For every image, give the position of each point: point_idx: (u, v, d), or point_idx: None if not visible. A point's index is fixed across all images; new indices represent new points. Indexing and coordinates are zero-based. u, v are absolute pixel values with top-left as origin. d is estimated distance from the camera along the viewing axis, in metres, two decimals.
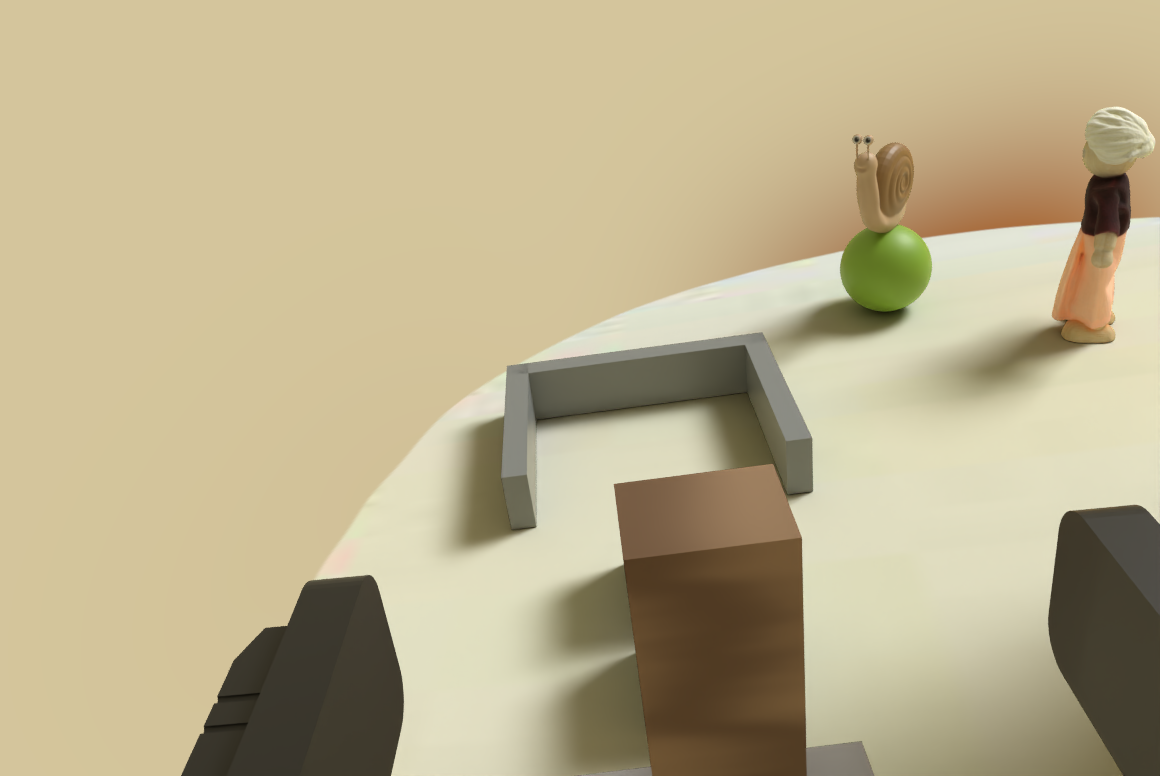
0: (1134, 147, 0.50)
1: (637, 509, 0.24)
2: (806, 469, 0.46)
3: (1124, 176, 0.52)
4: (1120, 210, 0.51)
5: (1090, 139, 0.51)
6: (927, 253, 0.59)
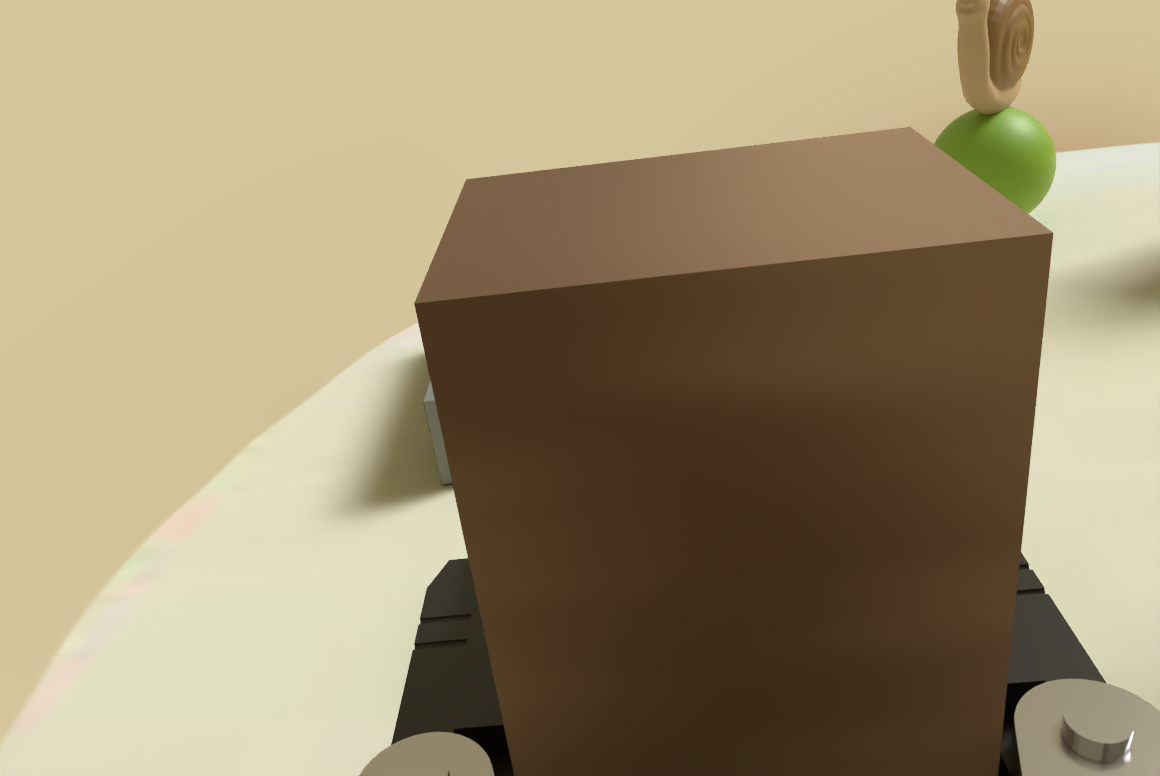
0: None
1: (509, 211, 0.08)
2: None
3: None
4: None
5: None
6: (1051, 143, 0.43)
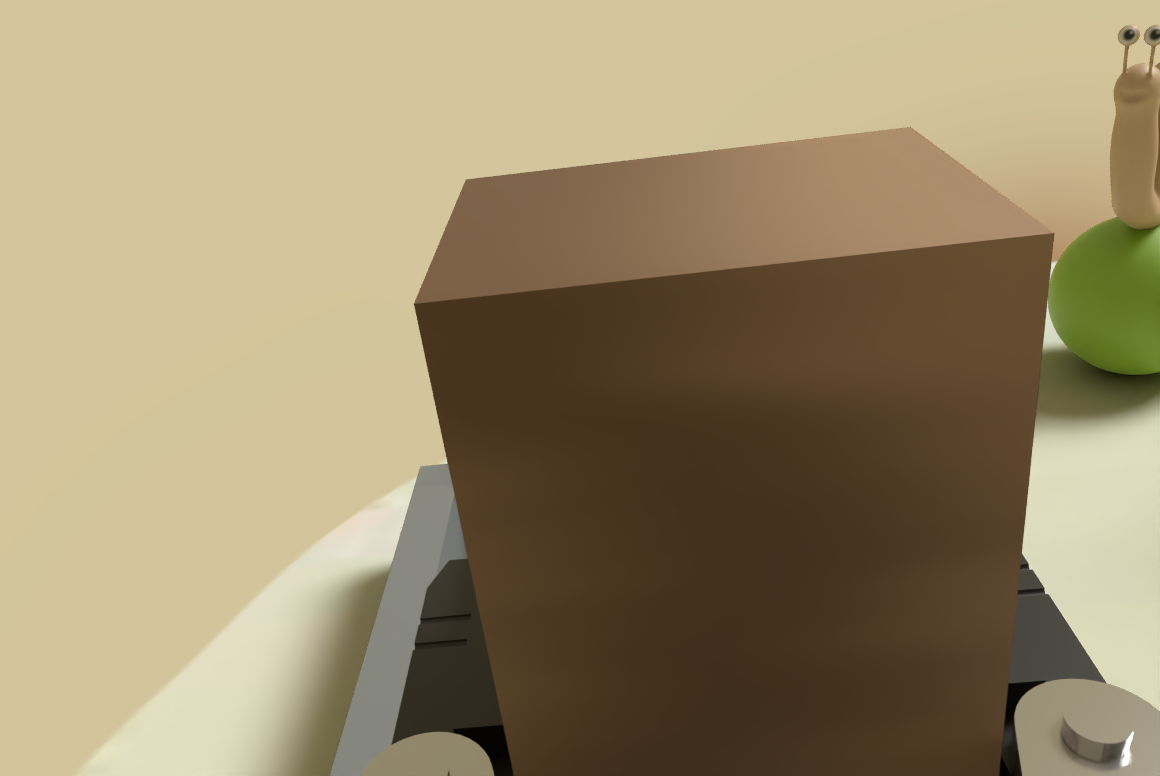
0: None
1: (509, 211, 0.08)
2: None
3: None
4: None
5: None
6: None
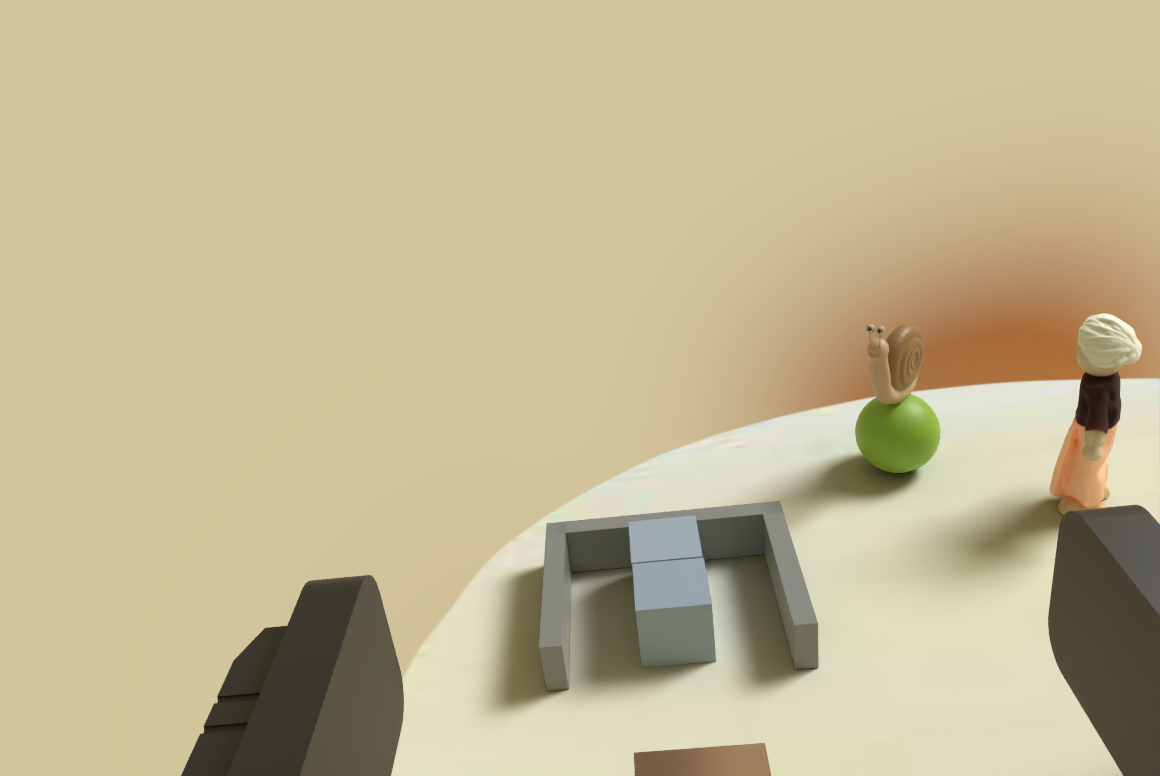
0: (1121, 355, 0.55)
1: None
2: (812, 649, 0.51)
3: (1114, 376, 0.56)
4: (1110, 407, 0.56)
5: (1082, 344, 0.56)
6: (935, 423, 0.64)
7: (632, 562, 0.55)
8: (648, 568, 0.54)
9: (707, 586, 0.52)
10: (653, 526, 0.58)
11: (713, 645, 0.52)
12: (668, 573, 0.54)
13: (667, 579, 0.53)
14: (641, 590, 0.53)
